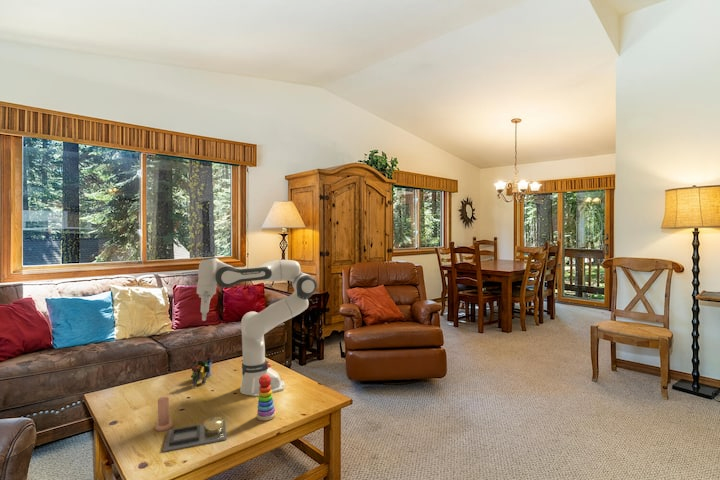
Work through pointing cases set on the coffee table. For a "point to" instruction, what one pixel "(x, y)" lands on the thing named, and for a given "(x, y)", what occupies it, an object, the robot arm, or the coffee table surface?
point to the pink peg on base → (163, 415)
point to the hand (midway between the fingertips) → (204, 318)
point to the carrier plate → (196, 434)
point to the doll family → (202, 371)
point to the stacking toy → (265, 399)
